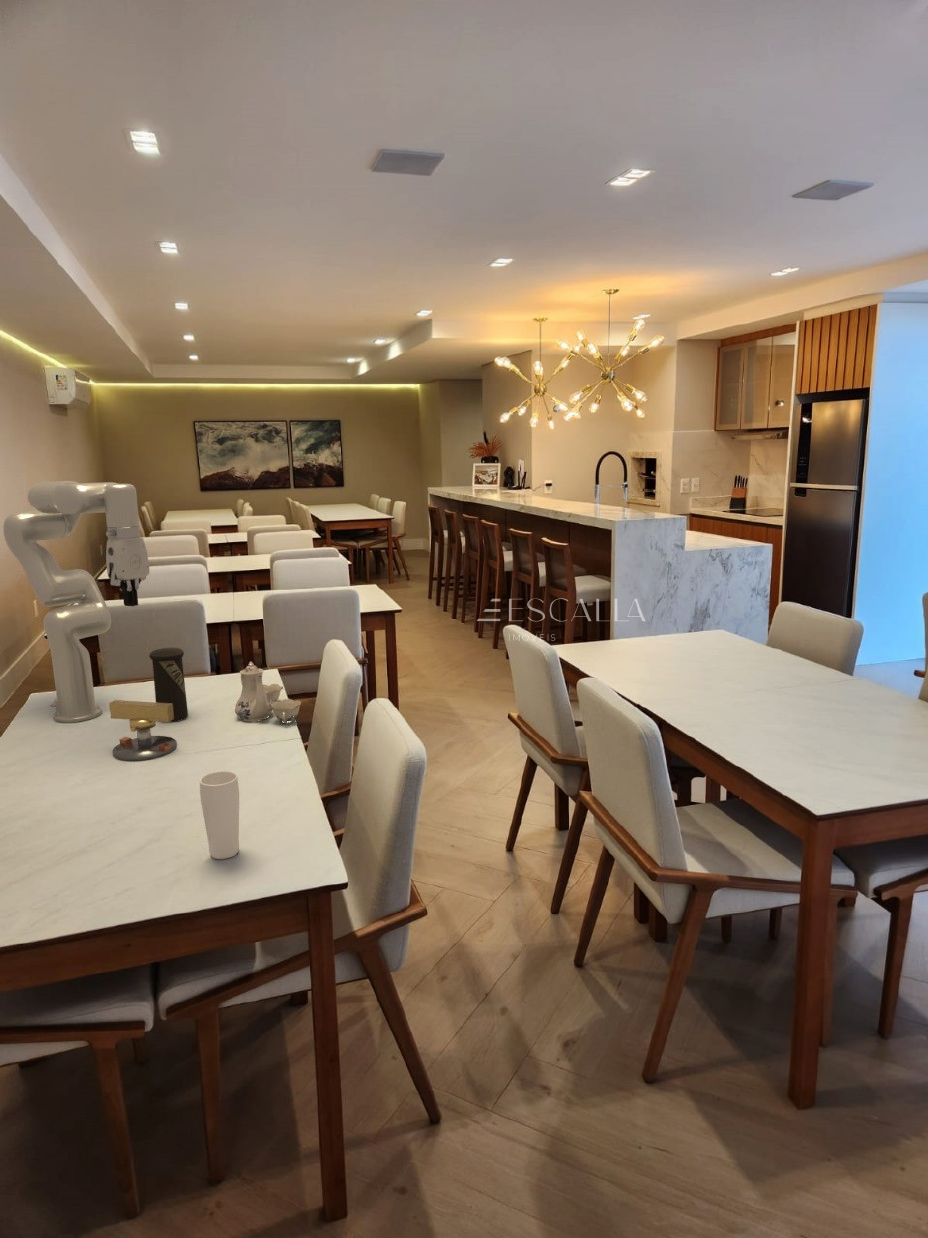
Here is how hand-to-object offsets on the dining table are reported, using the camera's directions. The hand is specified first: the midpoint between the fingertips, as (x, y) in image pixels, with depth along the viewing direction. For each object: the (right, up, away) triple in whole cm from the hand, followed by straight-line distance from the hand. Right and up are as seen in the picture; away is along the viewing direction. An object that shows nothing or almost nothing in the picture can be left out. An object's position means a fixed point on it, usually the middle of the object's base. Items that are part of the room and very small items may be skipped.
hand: (131, 605), depth 203 cm
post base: (+5, -36, -3) cm, 37 cm away
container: (+3, -32, +21) cm, 38 cm away
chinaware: (+29, -31, +23) cm, 48 cm away
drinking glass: (+40, -47, -55) cm, 83 cm away
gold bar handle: (+5, -30, -4) cm, 31 cm away
